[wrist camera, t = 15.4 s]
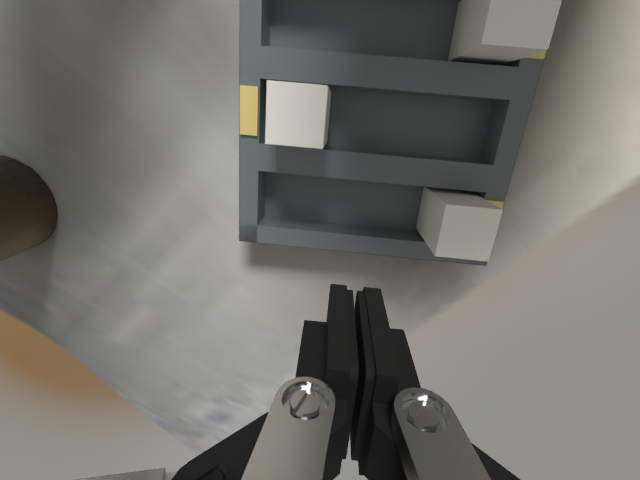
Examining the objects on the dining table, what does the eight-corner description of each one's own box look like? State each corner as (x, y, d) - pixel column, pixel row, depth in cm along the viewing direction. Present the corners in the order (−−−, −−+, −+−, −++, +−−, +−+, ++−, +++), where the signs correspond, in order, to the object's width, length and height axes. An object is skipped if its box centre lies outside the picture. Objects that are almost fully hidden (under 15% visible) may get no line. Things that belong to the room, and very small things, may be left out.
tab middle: (282, 137, 30) (264, 143, 23) (284, 88, 28) (266, 80, 22) (327, 142, 30) (322, 149, 23) (331, 92, 28) (328, 85, 22)
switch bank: (250, 227, 34) (238, 241, 30) (254, -39, 26) (238, -66, 23) (470, 249, 33) (487, 266, 29) (538, -17, 26) (573, -42, 22)
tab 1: (415, 227, 32) (434, 256, 25) (423, 185, 30) (446, 204, 24) (458, 231, 32) (488, 261, 25) (468, 189, 30) (503, 209, 24)
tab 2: (447, 61, 27) (481, 43, 20) (458, 2, 26) (498, -37, 19) (497, 66, 27) (548, 49, 20) (512, 7, 26) (570, -32, 19)
